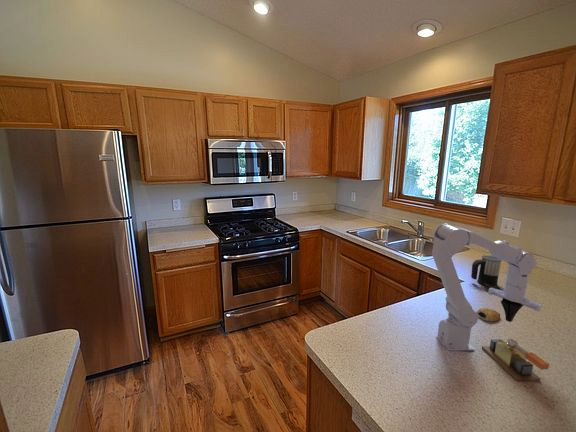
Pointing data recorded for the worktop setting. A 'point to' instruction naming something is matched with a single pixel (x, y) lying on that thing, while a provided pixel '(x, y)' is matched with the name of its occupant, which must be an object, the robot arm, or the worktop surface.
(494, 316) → the pastry
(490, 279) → the milk frother
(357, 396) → the worktop surface
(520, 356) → the valve
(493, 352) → the plank
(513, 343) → the lever
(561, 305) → the worktop surface
